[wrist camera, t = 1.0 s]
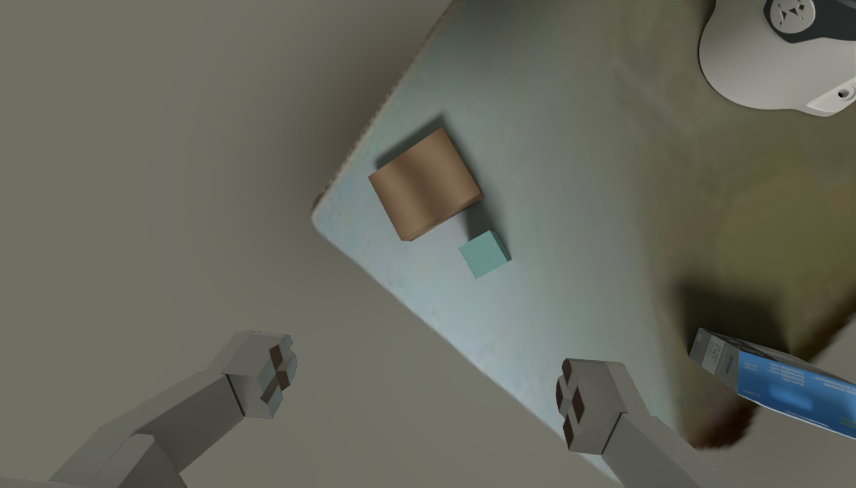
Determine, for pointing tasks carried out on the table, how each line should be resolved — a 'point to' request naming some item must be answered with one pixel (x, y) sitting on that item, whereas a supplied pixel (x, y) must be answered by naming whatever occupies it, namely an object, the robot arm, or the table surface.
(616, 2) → the table surface
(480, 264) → the teal column
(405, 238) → the walnut block
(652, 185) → the table surface
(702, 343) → the label tape box
